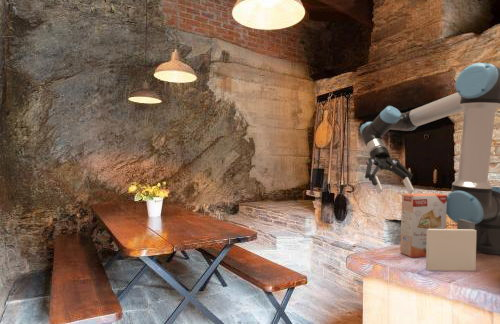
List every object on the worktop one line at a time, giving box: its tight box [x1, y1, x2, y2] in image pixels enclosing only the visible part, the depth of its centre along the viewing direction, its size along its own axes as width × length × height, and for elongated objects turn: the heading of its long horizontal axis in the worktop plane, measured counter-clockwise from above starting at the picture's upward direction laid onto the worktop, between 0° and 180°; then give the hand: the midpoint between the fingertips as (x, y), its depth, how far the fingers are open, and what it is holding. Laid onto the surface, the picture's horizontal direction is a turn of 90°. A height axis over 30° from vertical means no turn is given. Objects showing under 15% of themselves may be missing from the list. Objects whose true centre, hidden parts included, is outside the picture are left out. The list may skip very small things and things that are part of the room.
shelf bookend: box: [425, 219, 477, 272], centre depth 104 cm, size 14×8×14 cm, turn 91°
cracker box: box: [399, 192, 447, 258], centre depth 117 cm, size 14×6×21 cm, turn 105°
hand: (396, 191), depth 134 cm, fingers open, 13 cm apart
